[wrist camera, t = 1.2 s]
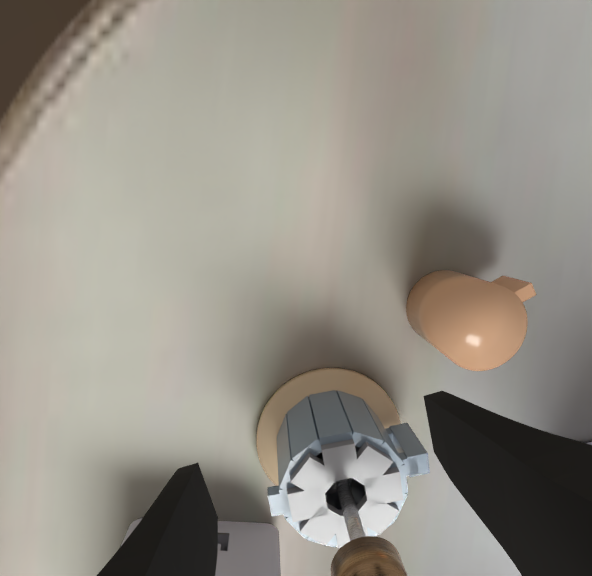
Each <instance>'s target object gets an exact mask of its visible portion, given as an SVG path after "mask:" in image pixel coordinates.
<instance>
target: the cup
mask: <svg viewBox="0 0 592 576" xmlns="http://www.w3.org/2000/svg"><path fill="white" fill-rule="evenodd" d="M535 295H536V293H535V290H534V288H533V286H532V283H529V282H526V281H522V280H518V279H514V278H510V277H506V276H501V277H499V278H498V279H496V280H494V281H492V282H488V281H484V280H481V279H478V278H475V277H471V276H468V275H465V274H462V273H458V272H455V271H451V270H439V271H435V272H432V273H430V274H427V275H426V276H424V277H423V278H421V279H420V280H419V281H418V282H417V283H416V284H415V285H414V287H413V288H412V290H411V292H410V294H409V296H408V300H407V305H406V313H407V318H408V321H409V323H410V325H411V327H412V328H413V329H414V331H415V332H416V333H417V334H419V335H420V336H421V337H422V338H424V339H425V340H426V341H427V342H429V343H430V344H431V345H432V346H434V347H435V348H436V349H438V350H439V351H440V352H441V353H443V354H444V355H445V356H446V357H448V358H449V359H450V360H451V361H453V362H454V363H455V364H457V365H458V366H460V367H462V368H465V369H468V370H473V371H485V370H490V369H493V368H496V367H498V366H500V365H502V364H504V363H505V362H507V361H508V360H509V359H510V358H512V357H513V356H514V355H515V353H516V352H517V351H518V350H519V348H520V346H521V345H522V343H523V341H524V338H525V335H526V331H527V323H528V322H527V313H526V310H525V307H524V305H523V303H522V302H524V301H526V300H528V299H530V298H531V297H533V296H535Z"/></svg>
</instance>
